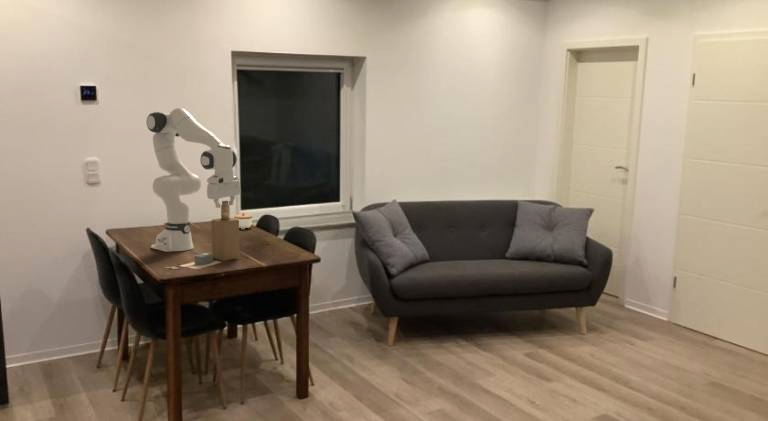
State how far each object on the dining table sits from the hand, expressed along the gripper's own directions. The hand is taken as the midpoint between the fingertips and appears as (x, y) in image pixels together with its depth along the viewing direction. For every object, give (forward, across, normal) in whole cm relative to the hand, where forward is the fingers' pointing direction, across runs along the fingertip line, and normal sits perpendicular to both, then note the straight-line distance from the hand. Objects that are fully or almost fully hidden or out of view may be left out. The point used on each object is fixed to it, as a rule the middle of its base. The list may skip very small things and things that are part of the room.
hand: (224, 206), depth 325 cm
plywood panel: (+26, +16, -1) cm, 31 cm away
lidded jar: (+27, -66, -44) cm, 84 cm away
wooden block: (+27, 0, 0) cm, 27 cm away
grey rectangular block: (+26, +15, -1) cm, 29 cm away
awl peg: (+6, 0, 0) cm, 7 cm away
